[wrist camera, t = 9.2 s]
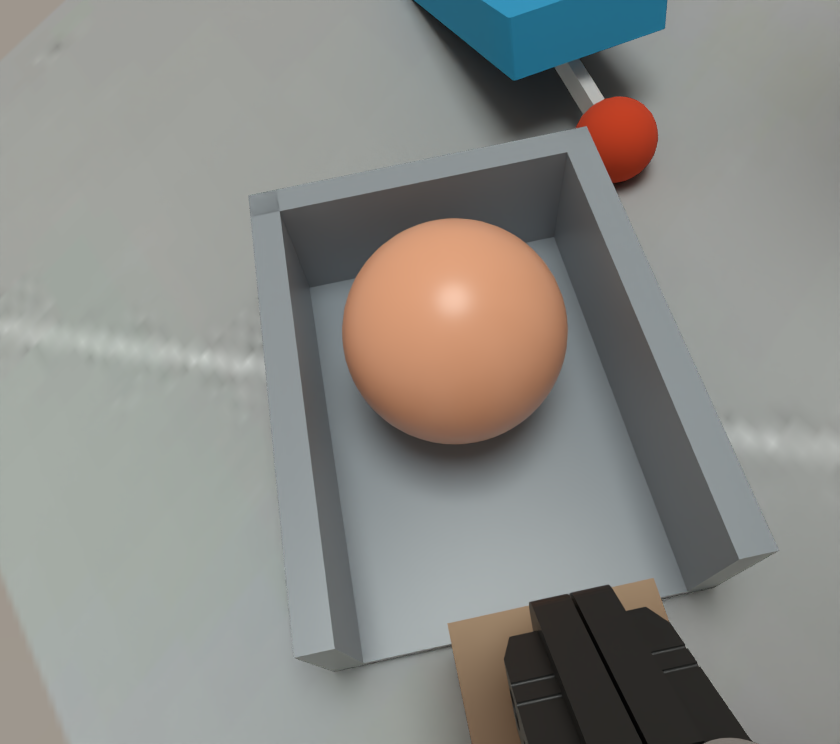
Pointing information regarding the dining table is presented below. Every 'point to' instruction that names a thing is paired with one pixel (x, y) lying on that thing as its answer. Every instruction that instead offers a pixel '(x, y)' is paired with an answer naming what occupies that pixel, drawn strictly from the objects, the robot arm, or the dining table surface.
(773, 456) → the dining table surface
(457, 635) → the wooden block
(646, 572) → the tray
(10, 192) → the dining table surface
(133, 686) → the dining table surface
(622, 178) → the lever
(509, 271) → the ball
